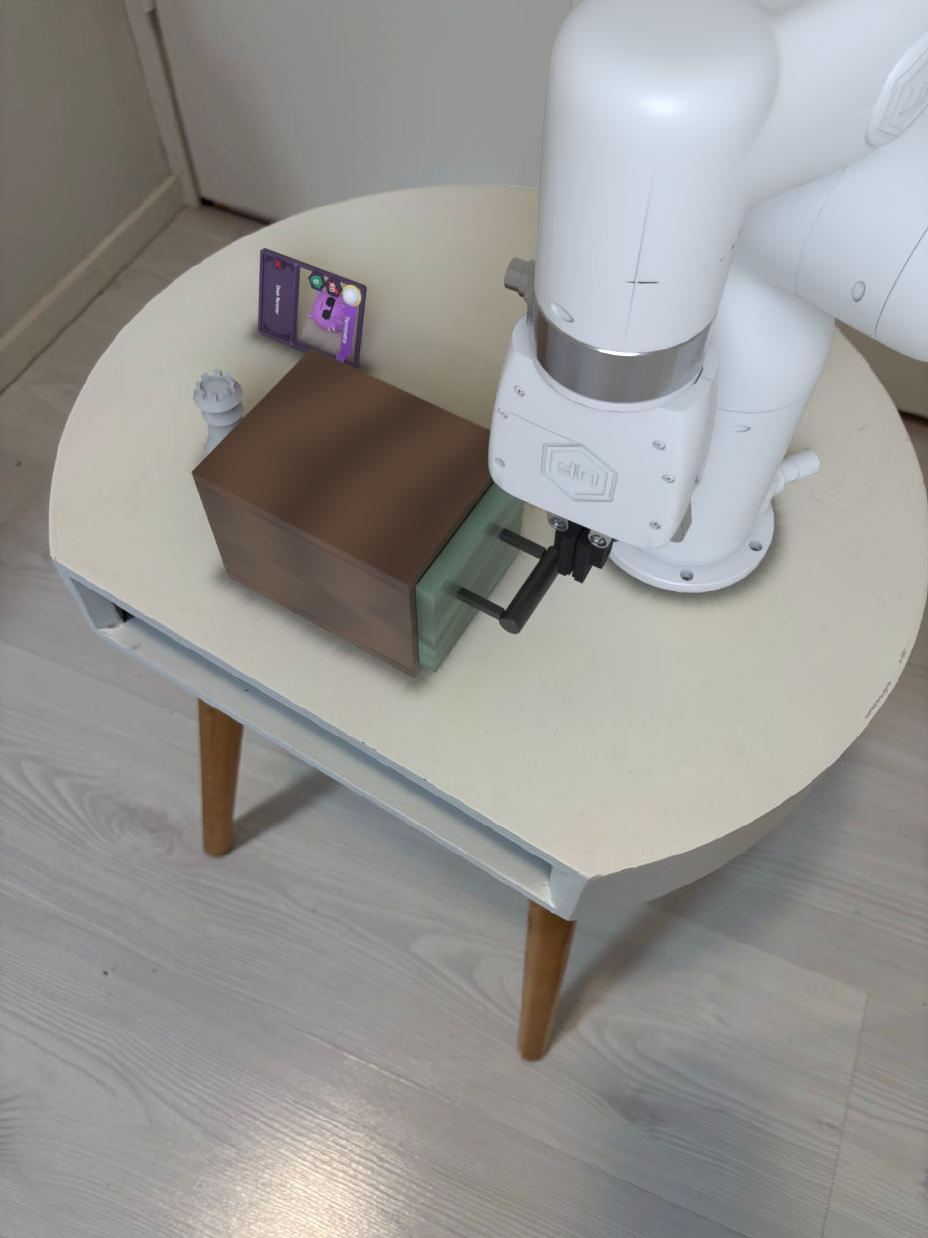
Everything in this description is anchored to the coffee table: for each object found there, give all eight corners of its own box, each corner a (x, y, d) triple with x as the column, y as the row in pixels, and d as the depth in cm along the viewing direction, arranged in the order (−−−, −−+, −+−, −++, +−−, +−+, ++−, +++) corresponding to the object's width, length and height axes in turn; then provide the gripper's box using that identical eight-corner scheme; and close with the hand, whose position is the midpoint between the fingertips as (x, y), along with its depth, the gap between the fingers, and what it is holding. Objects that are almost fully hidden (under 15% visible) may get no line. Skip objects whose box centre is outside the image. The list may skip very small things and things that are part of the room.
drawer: (575, 581, 64) (593, 497, 56) (495, 705, 59) (502, 632, 51) (350, 470, 68) (338, 378, 61) (259, 577, 63) (233, 492, 56)
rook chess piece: (258, 493, 68) (236, 414, 61) (197, 482, 69) (169, 403, 62) (276, 446, 70) (258, 364, 64) (218, 436, 71) (193, 354, 64)
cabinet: (507, 547, 66) (516, 441, 57) (414, 678, 61) (408, 585, 52) (329, 460, 70) (311, 347, 61) (227, 576, 65) (190, 471, 55)
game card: (254, 250, 71) (359, 290, 69) (293, 233, 75) (394, 269, 73) (252, 335, 76) (350, 374, 74) (289, 314, 80) (384, 351, 78)
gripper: (421, 319, 41) (437, 558, 57) (761, 448, 37) (676, 664, 53) (502, 213, 44) (496, 467, 60) (822, 322, 40) (724, 561, 56)
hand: (580, 559), depth 56 cm, fingers closed
